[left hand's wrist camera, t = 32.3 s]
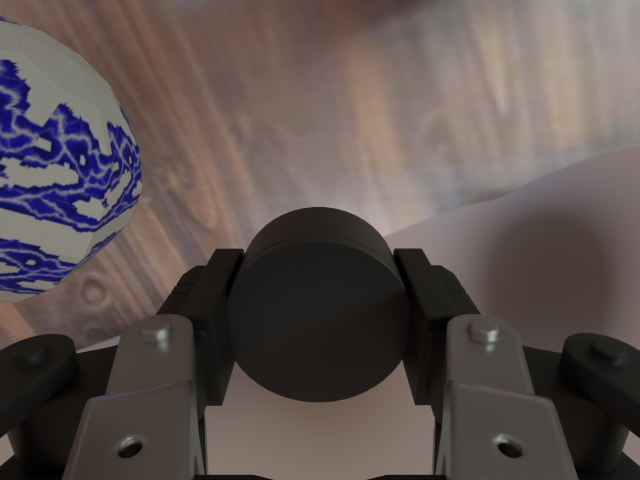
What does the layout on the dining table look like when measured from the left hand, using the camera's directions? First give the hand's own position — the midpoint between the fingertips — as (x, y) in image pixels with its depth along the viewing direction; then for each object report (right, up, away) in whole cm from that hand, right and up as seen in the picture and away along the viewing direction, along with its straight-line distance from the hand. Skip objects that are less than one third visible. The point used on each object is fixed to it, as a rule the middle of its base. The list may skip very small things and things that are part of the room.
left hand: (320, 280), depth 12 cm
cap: (0, -1, -2) cm, 2 cm away
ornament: (-23, +10, +26) cm, 37 cm away
